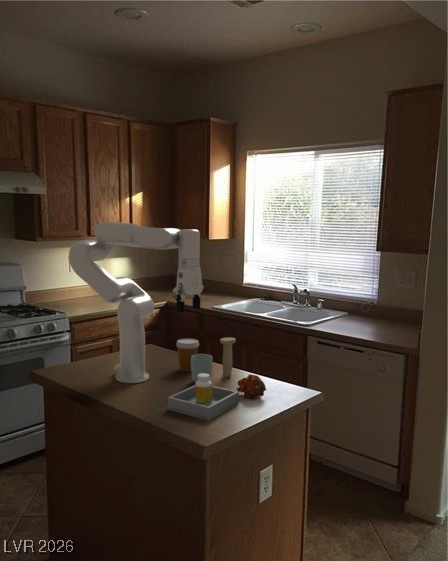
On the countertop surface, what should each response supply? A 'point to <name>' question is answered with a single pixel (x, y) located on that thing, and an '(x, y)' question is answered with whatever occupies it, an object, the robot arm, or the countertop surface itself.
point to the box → (188, 405)
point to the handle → (227, 355)
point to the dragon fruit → (251, 386)
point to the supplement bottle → (204, 389)
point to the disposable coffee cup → (186, 352)
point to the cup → (201, 365)
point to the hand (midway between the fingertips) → (188, 310)
